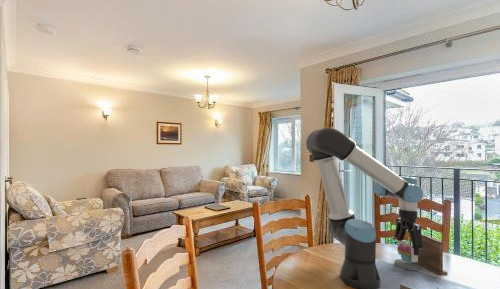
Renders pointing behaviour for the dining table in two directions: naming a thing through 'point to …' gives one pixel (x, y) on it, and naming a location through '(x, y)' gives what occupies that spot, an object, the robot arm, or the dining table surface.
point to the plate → (408, 265)
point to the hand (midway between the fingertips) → (407, 257)
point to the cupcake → (405, 251)
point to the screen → (431, 255)
